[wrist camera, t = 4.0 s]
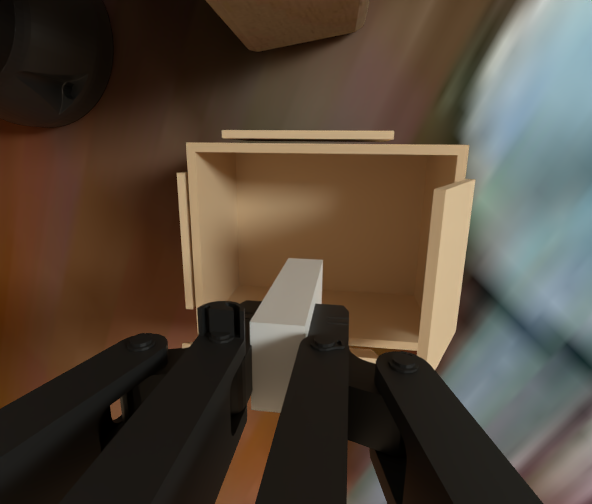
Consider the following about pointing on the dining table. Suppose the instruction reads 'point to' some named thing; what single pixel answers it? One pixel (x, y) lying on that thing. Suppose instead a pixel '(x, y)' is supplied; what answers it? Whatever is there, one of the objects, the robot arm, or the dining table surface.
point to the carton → (316, 222)
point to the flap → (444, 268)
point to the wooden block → (289, 20)
